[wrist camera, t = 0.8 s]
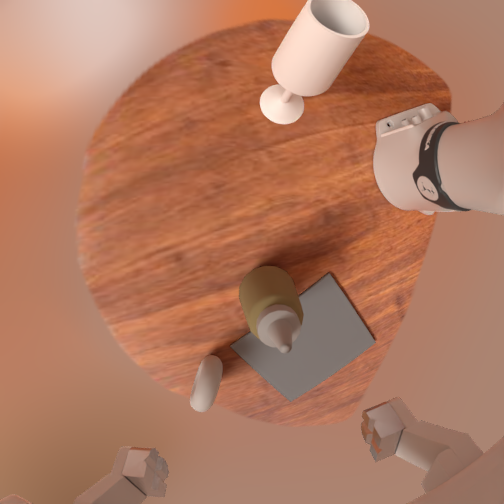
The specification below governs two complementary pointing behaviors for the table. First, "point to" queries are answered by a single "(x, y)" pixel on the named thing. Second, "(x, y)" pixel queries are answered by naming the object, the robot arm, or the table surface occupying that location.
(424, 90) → the table surface
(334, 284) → the mat
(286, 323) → the squeeze bottle
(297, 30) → the champagne flute
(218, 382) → the donut
